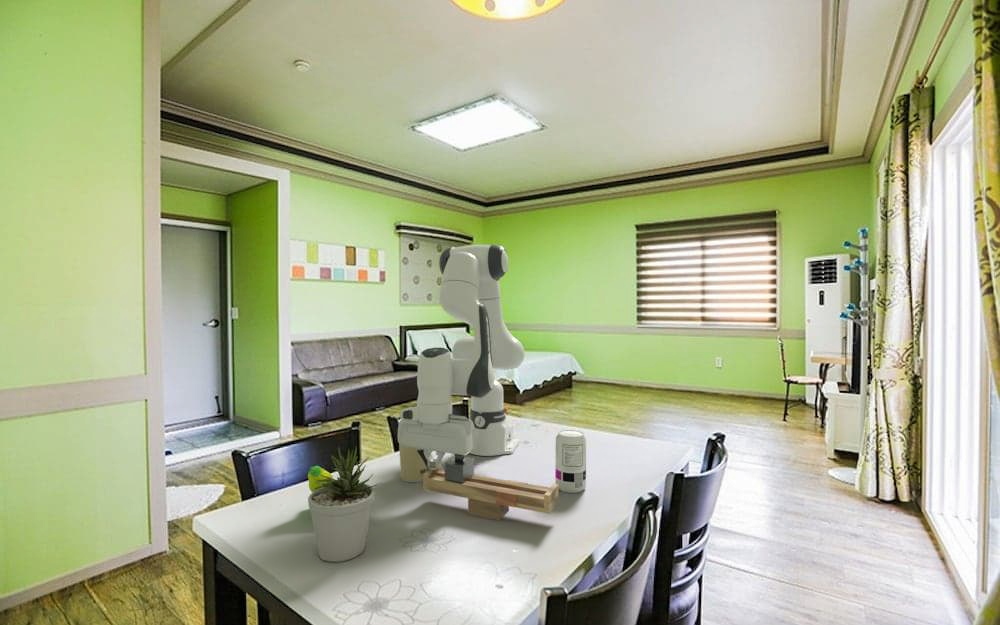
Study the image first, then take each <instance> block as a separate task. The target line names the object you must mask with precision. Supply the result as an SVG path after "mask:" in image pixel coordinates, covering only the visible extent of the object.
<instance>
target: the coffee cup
mask: <svg viewBox="0 0 1000 625" xmlns="http://www.w3.org/2000/svg"><path fill="white" fill-rule="evenodd" d="M398 447H399V464H400V476H401V477H400V478H401V480H402V481H403V482H407V483H419V482H423V474H424V473H425V472H427V471H429V470H430V467H428V460H427V459H426V457H425V455H424V449H418V448H412V447H405V446H400V444H399V445H398Z"/></svg>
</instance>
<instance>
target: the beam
mask: <svg viewBox="0 0 1000 625" xmlns="http://www.w3.org/2000/svg"><path fill="white" fill-rule="evenodd" d="M422 483H423V486H422V487H423V489H422V490H423V491H428V492H433V493H437V494H438V493H439V494H444V495H447V496H453V497H459V498H465V499H467V507H468V508H467V514H468V515H471V516H476V517H479V518H485V519H491V520H495V521H500V520H501V519H502V518H503V517H504V516H505V515H506V514H507V513H508V512H509V510H510V507H512V508H518V509H521V510H527V511H532V512H538V513H541V514H542V513H544V514H548V515H549V514H551V512H552V510H553V509H554V508H555V507H556V505H557V504H558V503H559V489H558V485H557V484H555V483H552V485H551V486H543V485H537V484H536V485H535V484H531V483H530V484H529V483H528V482H523V481H518V480H517V481H516V480H510V479H507V480H506V479H501V478H496V477H489V476H483V475H478V474H474V475H473V476H471V477H470V478H468V481H464V482H463V483H462V482H457V481H451V480H446V479H445V469H443V465H442V464H441V467H440V468H439V469H437V468H431V469H430V468H429V471H427V472H425V473H424V474H423V481H422Z"/></svg>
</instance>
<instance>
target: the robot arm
mask: <svg viewBox="0 0 1000 625" xmlns="http://www.w3.org/2000/svg"><path fill="white" fill-rule="evenodd" d="M438 263H439V270H440V273H441V274H442V277H441V282H440V289H439V304H440V306H441V308H442V309H443V311H444V312H445V313H447V315H449V316H450V317H452V318H453V319H455V320H457V321H460V322H463V323H465V324H467V325H469V326H471V327H472V329H473V336H465V337H461V338H458V339H456V341H455V342H454V344H453V346H452V350H451V351H450V350H449V349H447V348H446V347H431V348H426V349H424V350H422V351H421V352H420V355H419V358H418V365H417V375H416V376H417V378H416V382H417V383H416V384H417V389H418V395H417V400H416V405H412V406H411V407H410V406H409V407H408V408H407V407H406V408H404V409H402V410H400V411H399V418H400V419H401V420H400V421H399V422H398V427H397V442H398V443H399V444H400V446H405V447H412V448H418V449H424V455H425V457H426V459H427V460H428V467H429V468H431V469H432V468H437V469H439V468H440V467H441V465H442V460H443V458H444V457H445V455H446V454H451V455H452V454H454V455H455V454H458V455H465V456H466V455H469V454H471V455H475V456H481V457H484V456H485V457H492V456H493V457H495V456H500V455H510V454H513V453H514V451H516V448H517V447H518V446H519V443H520V439H519V438H516V437H514V428H513V426H512V425H511V424H510V423H509V422H508V420H507V419H506V417H507V416H506V414H508V407H504V387H503V385H502V383H501V382H500V381H498V380H496V379H495V372H494V370H501V371H505V370H514V369H518V368H519V367H520V366H521V365H522V363H524V362H523V361H524V359H525V349H524V346H523V344H522V343H521V341H520V340H518V339H517V338H515V336H513V334H512V333H511V332H510V331H509V329H508V327H507V326H506V323H505V320H504V318H503V310H502V298H501V289H500V288H501V287H500V281H499V280H500V279H501V278H503V277H504V276H505V275H506V274H507V272H508V267H509V257H508V252H507V250H506V249H505V248H504V247H503V246H501V245H498V244H491V245H490V244H471V245H463V246H457V247H455V246H452V247H448V248H445V249H444V250H443V251H442V253H440V256H439V262H438ZM451 352H452V353H451ZM451 355H452V356H451ZM452 395H454V396H467V397H470V398H471V399H470V402H471V404H470V405H471V407H470V409H469V418H467V416H465V415H456V414H453V397H452ZM432 452H435V453H436V454H435V455H436V456H437V457H436V458H434V456H433V454H432Z"/></svg>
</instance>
